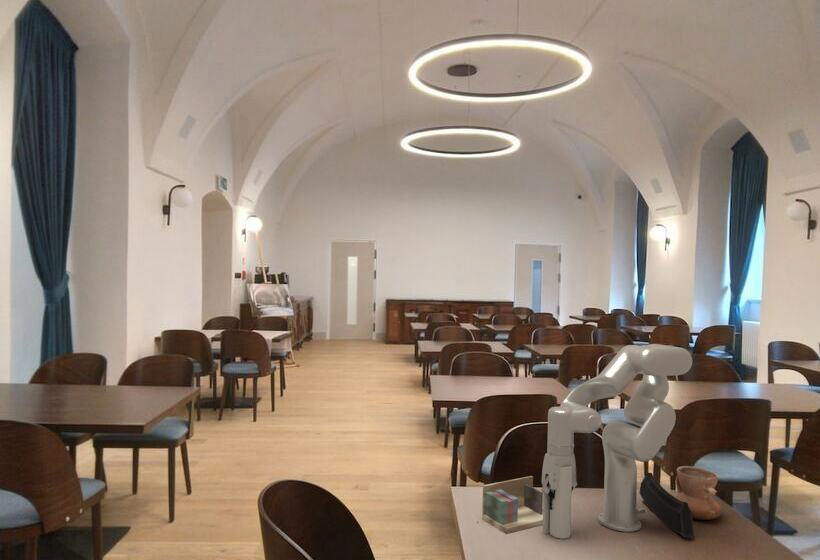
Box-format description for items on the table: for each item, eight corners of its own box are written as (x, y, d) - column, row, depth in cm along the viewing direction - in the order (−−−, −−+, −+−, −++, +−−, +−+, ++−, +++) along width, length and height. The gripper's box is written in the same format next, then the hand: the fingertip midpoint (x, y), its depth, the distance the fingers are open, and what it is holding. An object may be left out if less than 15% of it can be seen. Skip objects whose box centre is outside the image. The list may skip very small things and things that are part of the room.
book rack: (482, 518, 177) (482, 485, 177) (530, 507, 187) (531, 475, 187) (506, 533, 166) (507, 498, 166) (556, 521, 176) (557, 487, 176)
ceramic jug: (734, 525, 176) (735, 480, 177) (692, 526, 174) (692, 480, 175) (697, 503, 194) (698, 462, 194) (659, 504, 192) (659, 463, 193)
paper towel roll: (573, 534, 167) (575, 463, 167) (565, 541, 162) (566, 468, 162) (551, 527, 172) (553, 457, 172) (542, 533, 167) (544, 462, 167)
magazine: (699, 514, 162) (654, 453, 191) (688, 514, 162) (645, 453, 191) (689, 562, 167) (647, 496, 196) (678, 562, 167) (638, 496, 196)
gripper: (571, 442, 174) (570, 501, 174) (530, 449, 166) (529, 511, 166) (589, 449, 168) (588, 510, 168) (548, 456, 160) (547, 520, 160)
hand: (559, 510), depth 167 cm, fingers closed on paper towel roll, 3 cm apart
